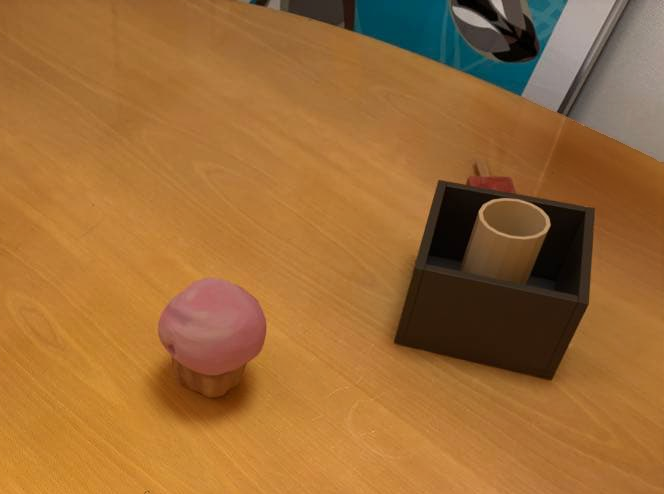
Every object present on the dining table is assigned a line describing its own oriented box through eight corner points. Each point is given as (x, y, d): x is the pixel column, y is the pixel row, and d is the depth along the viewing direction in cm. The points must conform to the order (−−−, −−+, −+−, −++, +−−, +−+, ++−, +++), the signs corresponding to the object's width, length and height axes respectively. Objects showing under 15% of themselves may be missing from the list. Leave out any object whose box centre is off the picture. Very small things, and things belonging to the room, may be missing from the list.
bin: (561, 284, 84) (595, 207, 77) (552, 380, 76) (589, 304, 69) (417, 254, 87) (438, 179, 81) (393, 343, 79) (414, 267, 73)
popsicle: (500, 149, 96) (534, 234, 87) (496, 162, 98) (528, 248, 88) (459, 149, 97) (487, 234, 87) (455, 162, 98) (483, 247, 88)
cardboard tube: (522, 300, 81) (558, 211, 74) (502, 336, 78) (538, 246, 71) (462, 279, 84) (491, 191, 76) (441, 313, 80) (469, 224, 73)
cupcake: (209, 332, 81) (214, 246, 73) (280, 381, 76) (293, 294, 69) (139, 381, 77) (136, 295, 70) (210, 435, 73) (215, 349, 65)
